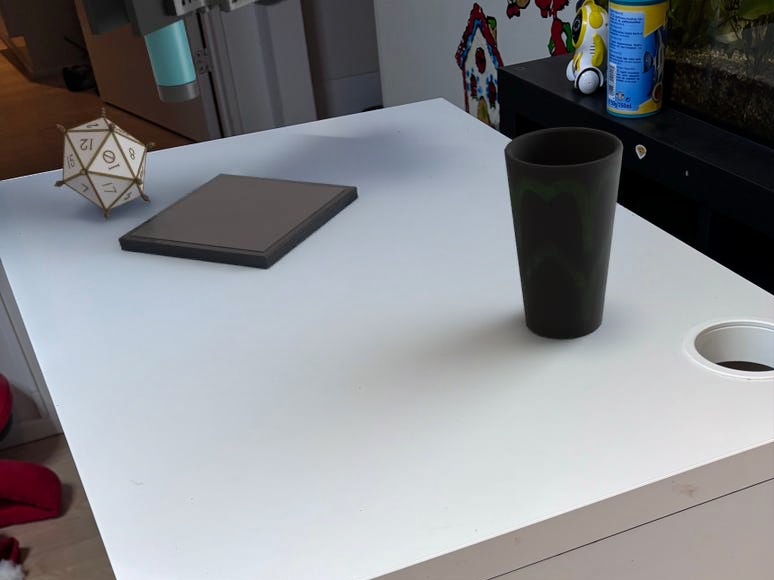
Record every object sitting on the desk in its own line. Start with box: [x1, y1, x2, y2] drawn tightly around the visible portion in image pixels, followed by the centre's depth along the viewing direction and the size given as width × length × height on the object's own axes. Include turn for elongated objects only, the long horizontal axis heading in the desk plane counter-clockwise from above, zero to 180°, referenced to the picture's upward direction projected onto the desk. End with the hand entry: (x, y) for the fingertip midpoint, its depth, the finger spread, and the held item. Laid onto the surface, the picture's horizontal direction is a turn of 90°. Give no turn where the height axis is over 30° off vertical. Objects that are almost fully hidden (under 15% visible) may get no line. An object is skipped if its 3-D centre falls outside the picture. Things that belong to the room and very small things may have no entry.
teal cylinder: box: [143, 19, 200, 103], centre depth 79 cm, size 3×3×12 cm
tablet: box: [117, 173, 359, 269], centre depth 91 cm, size 15×16×1 cm
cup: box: [503, 126, 624, 340], centre depth 70 cm, size 8×8×12 cm
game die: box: [53, 106, 156, 222], centre depth 93 cm, size 9×8×10 cm
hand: (111, 14), depth 75 cm, fingers closed on teal cylinder, 3 cm apart
